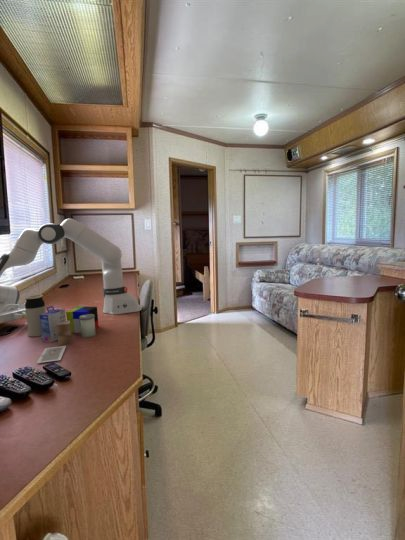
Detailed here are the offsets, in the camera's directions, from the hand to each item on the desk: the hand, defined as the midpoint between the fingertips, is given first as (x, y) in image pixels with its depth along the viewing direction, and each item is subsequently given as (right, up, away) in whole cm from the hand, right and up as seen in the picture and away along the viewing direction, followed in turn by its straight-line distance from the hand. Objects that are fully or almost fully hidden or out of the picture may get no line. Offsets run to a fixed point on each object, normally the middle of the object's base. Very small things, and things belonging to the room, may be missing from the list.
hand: (23, 316), depth 150 cm
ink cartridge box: (+21, -8, -12) cm, 26 cm away
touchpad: (+30, -11, -32) cm, 45 cm away
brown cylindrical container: (+29, -9, -19) cm, 36 cm away
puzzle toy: (+29, -7, -1) cm, 30 cm away
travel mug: (+10, -8, -5) cm, 14 cm away
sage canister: (+35, -7, -10) cm, 37 cm away
